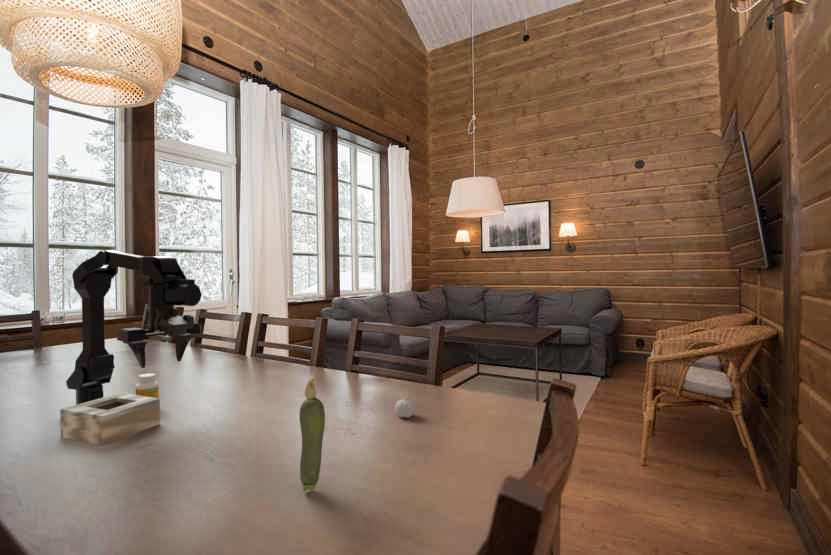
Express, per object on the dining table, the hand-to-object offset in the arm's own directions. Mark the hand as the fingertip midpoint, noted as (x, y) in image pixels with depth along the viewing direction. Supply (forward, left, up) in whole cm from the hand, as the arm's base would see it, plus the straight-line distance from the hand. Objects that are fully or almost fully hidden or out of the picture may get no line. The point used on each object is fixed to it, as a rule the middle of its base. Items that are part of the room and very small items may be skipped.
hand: (161, 364), depth 112 cm
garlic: (+59, +23, -14) cm, 65 cm away
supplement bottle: (-10, +4, -14) cm, 18 cm away
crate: (-4, -10, -14) cm, 18 cm away
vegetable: (+57, -18, -14) cm, 62 cm away
